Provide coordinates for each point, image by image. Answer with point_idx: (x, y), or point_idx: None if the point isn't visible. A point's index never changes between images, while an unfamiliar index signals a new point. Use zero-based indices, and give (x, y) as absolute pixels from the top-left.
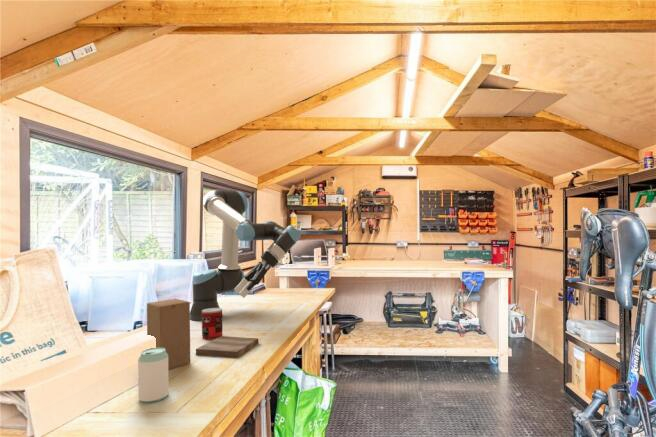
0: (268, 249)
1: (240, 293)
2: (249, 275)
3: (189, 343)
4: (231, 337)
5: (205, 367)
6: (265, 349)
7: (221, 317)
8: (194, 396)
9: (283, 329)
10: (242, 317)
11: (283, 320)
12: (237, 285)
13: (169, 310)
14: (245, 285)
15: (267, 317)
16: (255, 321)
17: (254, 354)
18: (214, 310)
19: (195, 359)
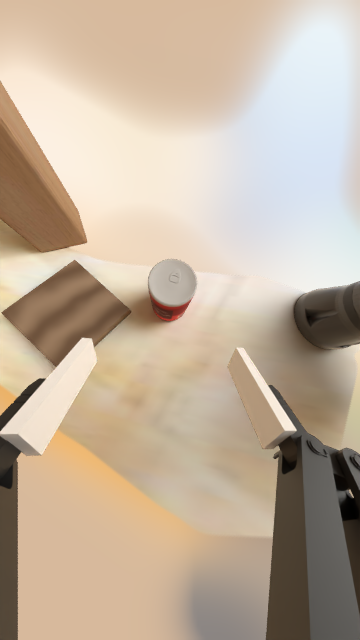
0: None
1: (79, 344)
2: (296, 501)
3: (10, 226)
4: (106, 324)
5: (5, 266)
6: (20, 373)
7: (158, 307)
8: None
9: (143, 457)
10: (295, 388)
11: (229, 484)
12: (254, 367)
13: None
14: (248, 412)
15: (276, 448)
16: None
17: (7, 346)
18: (170, 287)
19: (56, 261)
